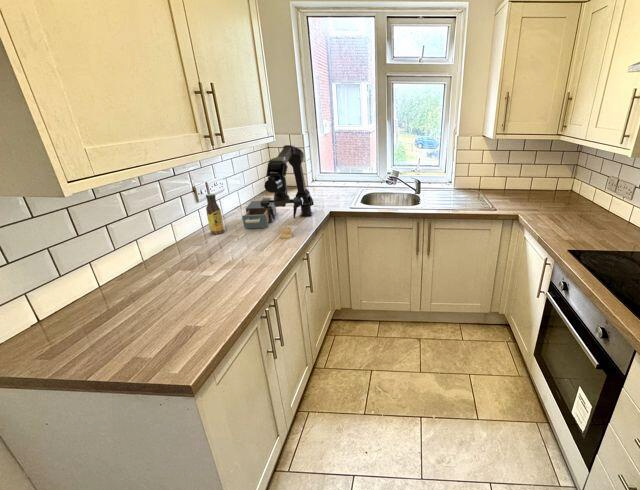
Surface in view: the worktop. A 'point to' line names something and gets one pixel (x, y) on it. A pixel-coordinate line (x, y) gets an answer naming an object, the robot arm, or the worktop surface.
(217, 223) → the sauce bottle
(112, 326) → the worktop surface
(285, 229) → the block
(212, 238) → the worktop surface
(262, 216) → the drawer
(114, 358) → the worktop surface
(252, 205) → the cabinet
